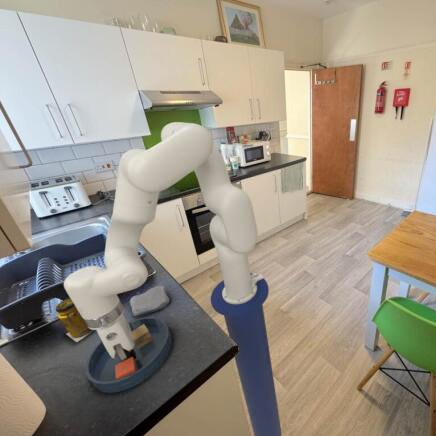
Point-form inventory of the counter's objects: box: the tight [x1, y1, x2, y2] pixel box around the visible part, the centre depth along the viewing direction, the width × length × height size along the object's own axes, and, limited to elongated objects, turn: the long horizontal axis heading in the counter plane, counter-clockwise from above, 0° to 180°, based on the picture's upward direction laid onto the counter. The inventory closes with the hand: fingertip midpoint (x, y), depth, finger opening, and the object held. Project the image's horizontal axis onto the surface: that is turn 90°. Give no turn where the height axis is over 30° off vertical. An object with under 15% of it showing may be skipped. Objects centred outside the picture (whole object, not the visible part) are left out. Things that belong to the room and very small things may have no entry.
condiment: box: [55, 297, 95, 343], centre depth 76 cm, size 7×8×12 cm
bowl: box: [85, 316, 173, 394], centre depth 69 cm, size 20×20×4 cm
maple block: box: [132, 324, 153, 349], centre depth 72 cm, size 4×4×4 cm
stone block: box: [129, 285, 170, 317], centre depth 86 cm, size 12×5×10 cm
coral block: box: [115, 357, 138, 380], centre depth 63 cm, size 4×4×4 cm
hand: (130, 359), depth 67 cm, fingers closed
